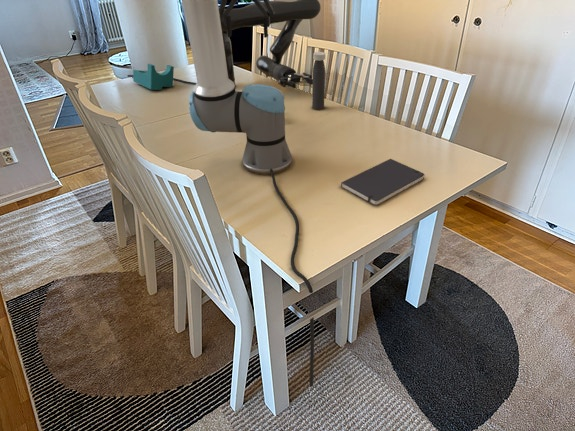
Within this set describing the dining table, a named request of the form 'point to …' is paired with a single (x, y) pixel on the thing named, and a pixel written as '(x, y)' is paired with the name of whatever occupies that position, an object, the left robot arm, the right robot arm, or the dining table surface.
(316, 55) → the cap
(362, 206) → the dining table surface
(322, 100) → the bottle
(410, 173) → the notebook
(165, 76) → the teal notched cradle block
